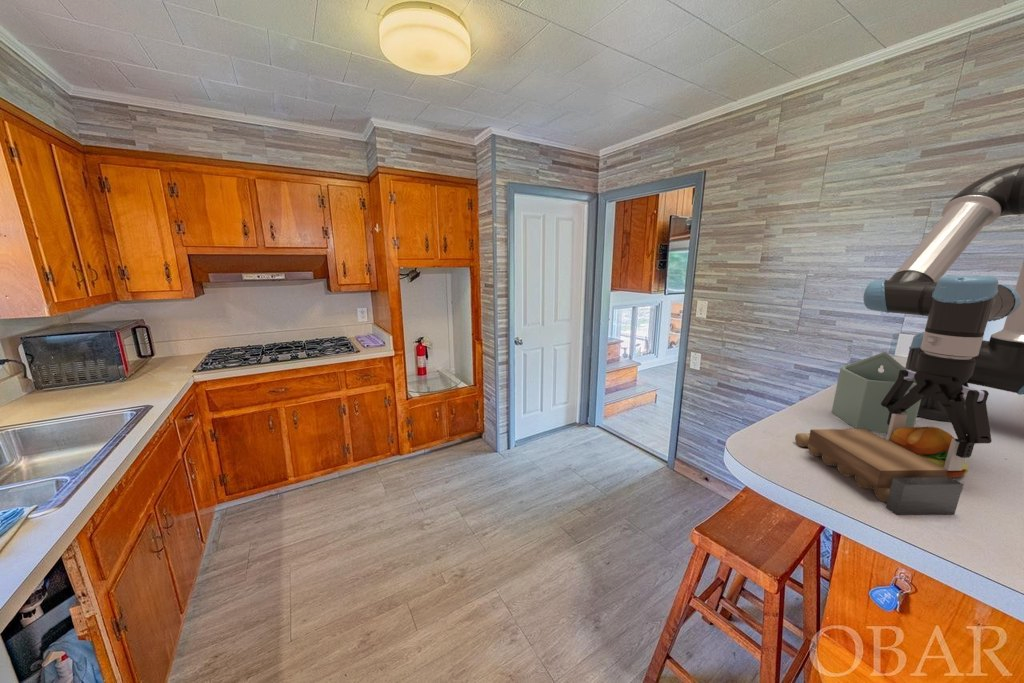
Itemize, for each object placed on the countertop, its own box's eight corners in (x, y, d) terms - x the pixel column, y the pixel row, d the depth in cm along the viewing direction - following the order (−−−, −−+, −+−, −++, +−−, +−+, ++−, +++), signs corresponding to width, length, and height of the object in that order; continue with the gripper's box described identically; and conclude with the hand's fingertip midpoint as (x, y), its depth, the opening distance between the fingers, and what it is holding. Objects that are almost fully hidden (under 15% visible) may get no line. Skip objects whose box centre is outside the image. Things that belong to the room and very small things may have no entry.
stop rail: (941, 506, 66) (950, 477, 65) (954, 514, 64) (963, 484, 63) (885, 507, 66) (892, 477, 65) (896, 514, 64) (904, 484, 63)
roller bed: (827, 442, 89) (829, 430, 88) (932, 505, 66) (936, 490, 66) (794, 442, 89) (796, 431, 88) (888, 505, 66) (892, 490, 66)
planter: (819, 417, 102) (832, 349, 98) (832, 411, 106) (845, 345, 101) (900, 442, 88) (920, 364, 84) (912, 434, 92) (931, 359, 87)
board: (861, 443, 82) (864, 428, 81) (943, 487, 66) (948, 470, 66) (807, 443, 82) (810, 429, 81) (876, 487, 67) (880, 470, 66)
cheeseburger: (981, 488, 71) (976, 439, 70) (902, 483, 77) (897, 438, 76) (956, 462, 79) (951, 419, 78) (887, 459, 85) (882, 419, 84)
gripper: (872, 341, 84) (853, 429, 89) (1004, 372, 61) (969, 488, 66) (905, 341, 84) (884, 428, 89) (1049, 372, 61) (1011, 487, 66)
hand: (920, 454), depth 78 cm, fingers closed on cheeseburger, 11 cm apart
